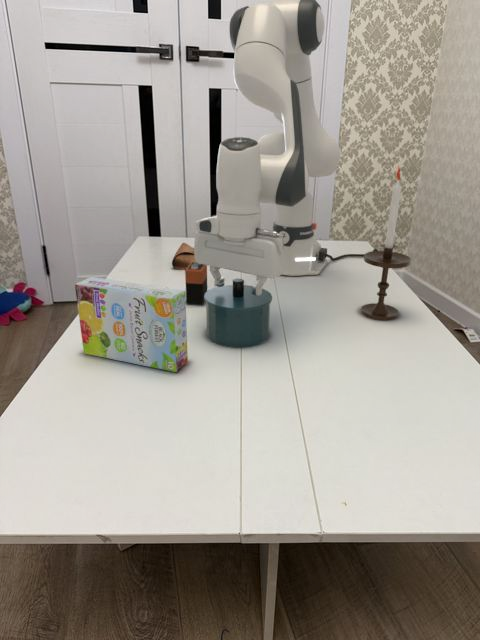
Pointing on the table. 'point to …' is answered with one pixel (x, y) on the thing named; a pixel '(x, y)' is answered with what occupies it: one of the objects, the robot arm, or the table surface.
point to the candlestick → (386, 262)
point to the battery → (196, 283)
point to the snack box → (133, 322)
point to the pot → (237, 326)
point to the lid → (237, 297)
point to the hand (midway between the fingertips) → (237, 290)
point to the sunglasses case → (183, 257)
